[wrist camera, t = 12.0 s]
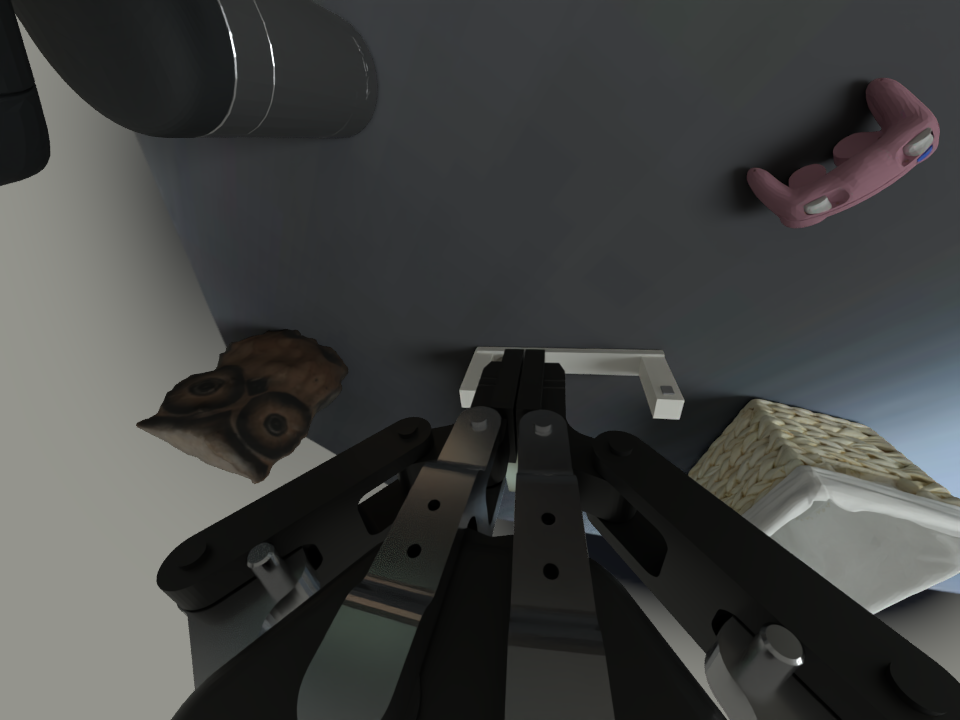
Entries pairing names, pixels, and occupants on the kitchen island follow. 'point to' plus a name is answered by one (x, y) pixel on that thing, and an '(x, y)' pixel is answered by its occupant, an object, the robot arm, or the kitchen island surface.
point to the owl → (251, 403)
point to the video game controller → (855, 160)
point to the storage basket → (836, 500)
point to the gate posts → (596, 372)
